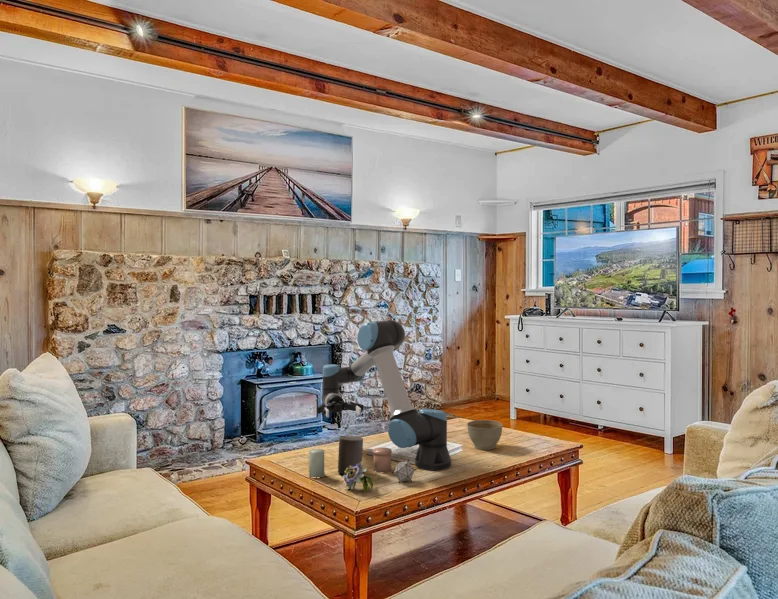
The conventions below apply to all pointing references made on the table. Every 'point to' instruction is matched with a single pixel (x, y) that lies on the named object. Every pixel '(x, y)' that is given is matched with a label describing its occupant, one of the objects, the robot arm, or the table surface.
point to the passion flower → (357, 476)
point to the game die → (404, 471)
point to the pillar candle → (349, 452)
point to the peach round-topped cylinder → (382, 459)
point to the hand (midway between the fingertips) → (344, 413)
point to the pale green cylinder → (316, 463)
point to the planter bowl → (484, 433)
